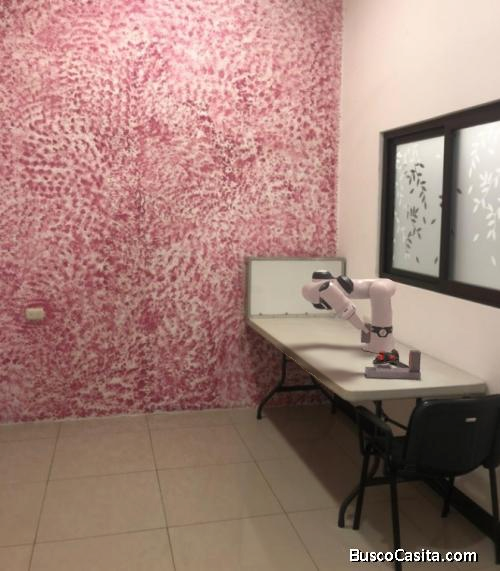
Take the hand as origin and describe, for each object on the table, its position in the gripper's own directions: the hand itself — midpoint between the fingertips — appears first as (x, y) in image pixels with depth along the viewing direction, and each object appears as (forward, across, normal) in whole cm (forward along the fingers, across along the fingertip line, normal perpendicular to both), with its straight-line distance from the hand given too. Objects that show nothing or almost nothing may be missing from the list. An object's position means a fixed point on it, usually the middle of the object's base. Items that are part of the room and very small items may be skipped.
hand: (367, 331), depth 283 cm
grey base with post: (+22, +7, -6) cm, 24 cm away
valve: (+24, -14, -5) cm, 28 cm away
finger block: (+3, 0, -4) cm, 5 cm away
